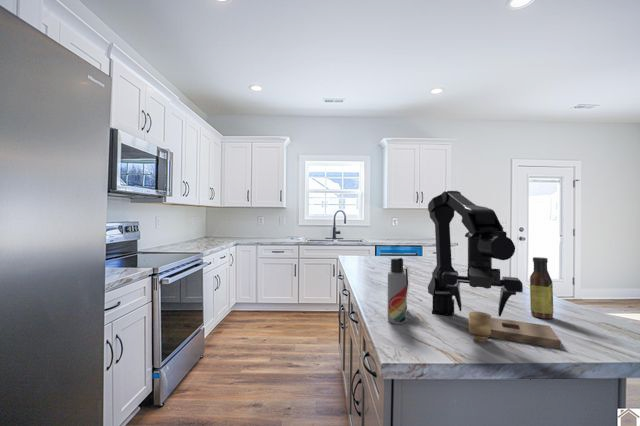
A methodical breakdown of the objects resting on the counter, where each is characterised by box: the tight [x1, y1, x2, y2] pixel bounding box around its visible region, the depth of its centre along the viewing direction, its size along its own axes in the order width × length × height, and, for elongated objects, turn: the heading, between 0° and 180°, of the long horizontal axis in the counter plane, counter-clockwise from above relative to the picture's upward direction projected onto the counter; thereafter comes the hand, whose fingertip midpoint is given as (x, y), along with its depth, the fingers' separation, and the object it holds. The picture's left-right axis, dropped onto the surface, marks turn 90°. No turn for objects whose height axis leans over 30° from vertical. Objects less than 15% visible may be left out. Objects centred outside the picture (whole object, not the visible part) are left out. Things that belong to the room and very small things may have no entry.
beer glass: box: [389, 266, 411, 312], centre depth 106 cm, size 7×7×15 cm
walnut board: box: [489, 317, 562, 349], centre depth 84 cm, size 20×12×2 cm, turn 63°
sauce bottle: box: [529, 256, 554, 320], centre depth 100 cm, size 7×6×20 cm
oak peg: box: [468, 311, 492, 343], centre depth 79 cm, size 5×5×7 cm
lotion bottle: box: [387, 257, 407, 325], centre depth 93 cm, size 6×6×20 cm
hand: (479, 313), depth 79 cm, fingers open, 9 cm apart
